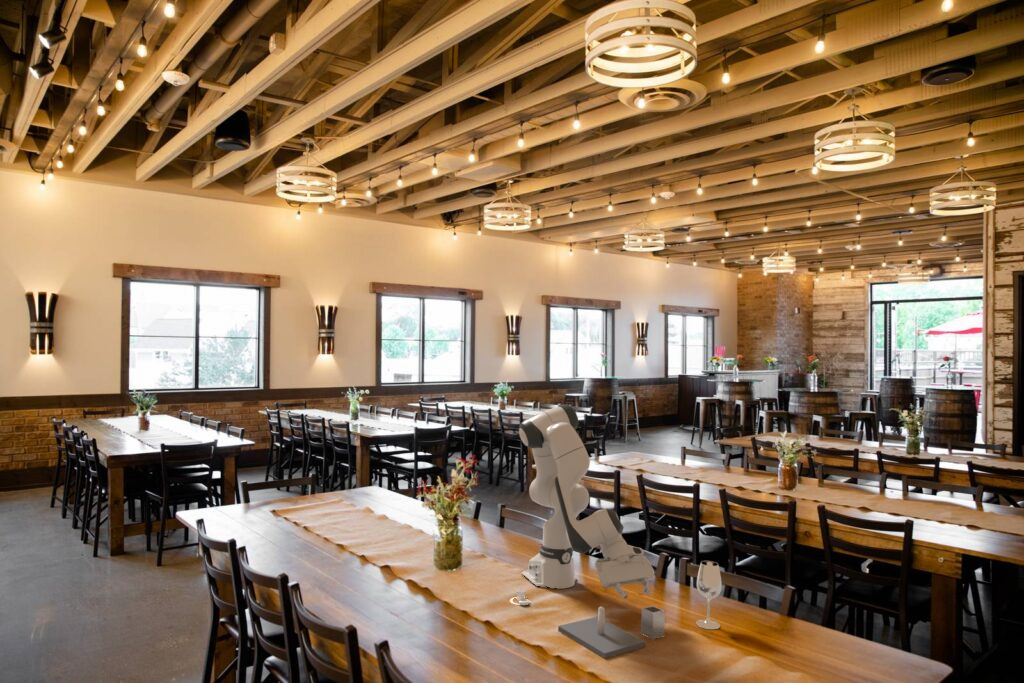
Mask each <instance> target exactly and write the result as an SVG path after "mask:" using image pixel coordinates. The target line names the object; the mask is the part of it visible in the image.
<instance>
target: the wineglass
mask: <svg viewBox="0 0 1024 683" xmlns="http://www.w3.org/2000/svg"><path fill="white" fill-rule="evenodd" d="M722 586H723V585H722V576H721V570H720V566H719V563H718V562H715V561H712V560H711V561H710V560H703V561H701V562H700V564H699V568H698V573H697V577H696V588H697V591H698V593H699V594H700V595H701V596H702V597H704V599H706V605H707V608H706V619H697V621H696V622H695V624H696V625H697V626H698V627H699V628H701V629H705V630H717V629H719V628H721V624H720V623H718V622H717V621H714V620H711V618H710V612H711V611H710V609H711V608H710V607H711V601H712V600H713V599H715V598H717V597H718V596H719V595H720V593H721V591H722Z"/></svg>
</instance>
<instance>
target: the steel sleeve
mask: <svg viewBox="0 0 1024 683" xmlns="http://www.w3.org/2000/svg"><path fill="white" fill-rule="evenodd" d="M665 615H666V610H665V609H663V608H662V609H661V608H660V607H657V606H656V605H648V606H646V607H641V624H640V625H641V626H640V627H641V628H640V634H641V633H642V634H644V635H646V636H648V637H649V638H648V637H647V638H648V639H650V638H651V639H650V640H652V639H654V640H656V639H655V638H658V637H661V638H663V637H662V636H664V637H665V624H666V623H665V619H666V618H665ZM642 634H641V635H642ZM644 635H643V636H644ZM646 636H645V637H646ZM658 639H659V638H658Z"/></svg>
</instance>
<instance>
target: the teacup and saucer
mask: <svg viewBox="0 0 1024 683" xmlns="http://www.w3.org/2000/svg"><path fill="white" fill-rule="evenodd" d="M526 592H527V590H525V589H522V588H519V589H517V590H516V596H515V597H511V598H510V599H509V602H510V603H511V604H513V605H515V606H528V604H529V602H530V601H529V600H528V599H525V597H526ZM514 598H516V600H517V602H518V603H516V602H514V600H515V599H514ZM513 599H514V600H513ZM529 605H530V604H529Z"/></svg>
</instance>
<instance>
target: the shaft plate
mask: <svg viewBox="0 0 1024 683" xmlns="http://www.w3.org/2000/svg"><path fill="white" fill-rule="evenodd" d="M597 609H598V610H597V611H598V612H597V616H594V617H590V618H585V619H581V620H577V621H574V622H569V623H565V624H561V625H558V627H557V628H558V629H557V631H558V632H560V633H561V634H563V635H564V634H565V636H567V638H570V639H571V640H573V641H575V642H576V643H578V644H579V645H581V646H583V647H585V648H586V649H587V650H590V651H591V652H593V653H594V654H596V655H598V656H599V657H602V658H603V659H607V658H608V659H609V658H611V657H614V655H615V656H618V654H619V655H621V654H624V653H625V652H626V653H628V652H629V653H630V652H632V651H636V650H640V649H643V648H645V647H646V641H645V640H643V639H641V638H639V637H637V636H635V635H634V634H632V633H630V632H628V631H626V630H624V629H622V628H620V627H619V626H617V625H615V624H613V623H611V622H609V621H607V620H605V618H606V616H605V614H606V612H605V611H606V610H605V607H603V606H599V607H598V608H597ZM642 647H643V648H642Z"/></svg>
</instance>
